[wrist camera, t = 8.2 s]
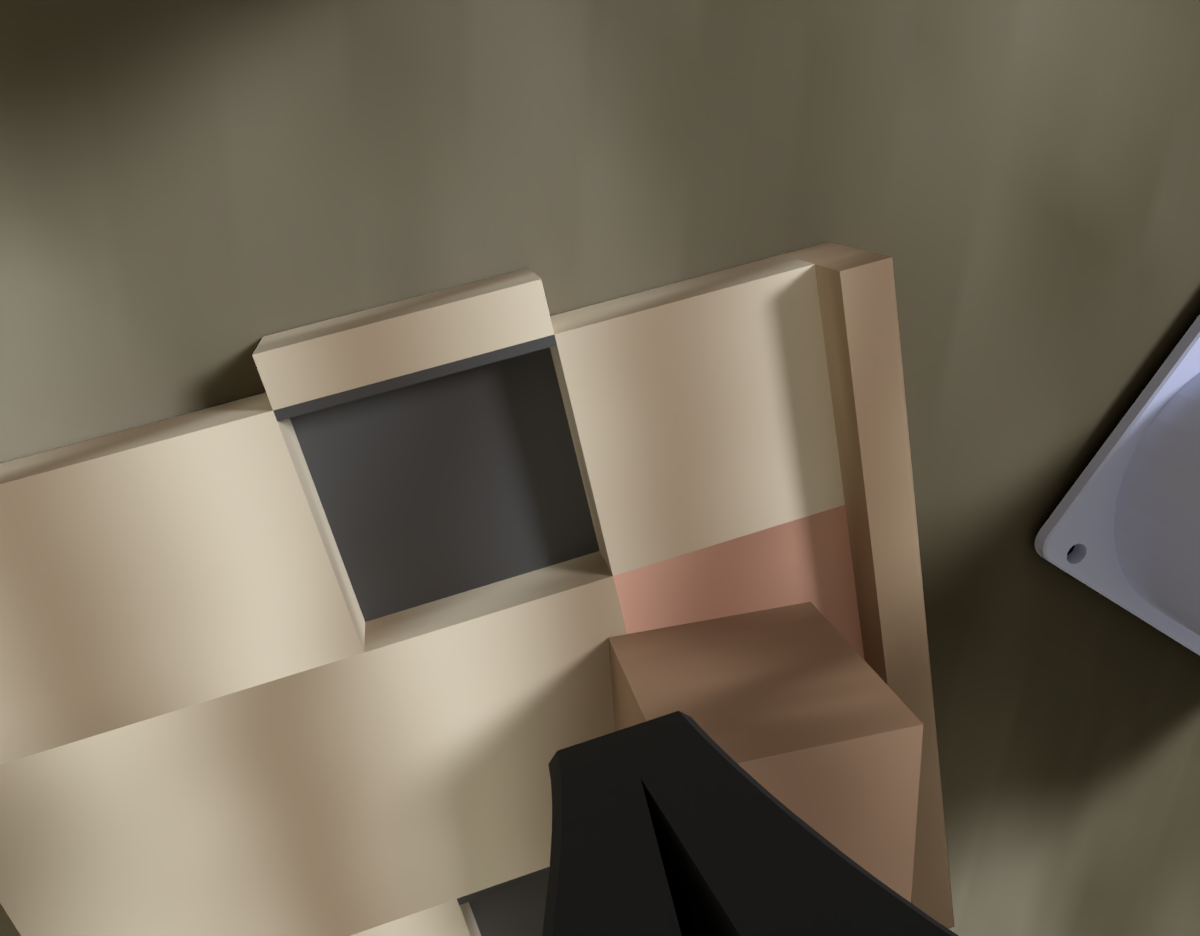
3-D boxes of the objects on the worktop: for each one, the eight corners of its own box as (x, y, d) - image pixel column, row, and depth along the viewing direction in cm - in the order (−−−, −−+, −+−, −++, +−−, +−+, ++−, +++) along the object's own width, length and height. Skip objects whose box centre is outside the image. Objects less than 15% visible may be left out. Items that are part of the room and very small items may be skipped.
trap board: (822, 191, 18) (886, 199, 16) (904, 879, 25) (957, 954, 23) (-207, 458, 16) (-309, 514, 13) (203, 1137, 23) (182, 1250, 20)
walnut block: (810, 601, 19) (923, 724, 15) (807, 771, 21) (909, 922, 17) (608, 637, 19) (671, 776, 14) (620, 810, 20) (680, 980, 16)
